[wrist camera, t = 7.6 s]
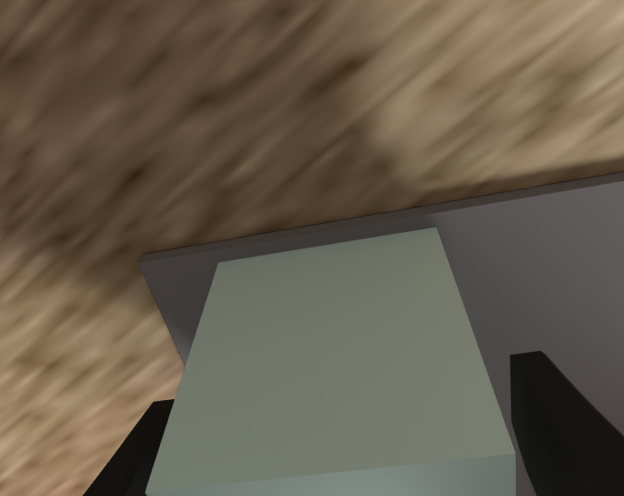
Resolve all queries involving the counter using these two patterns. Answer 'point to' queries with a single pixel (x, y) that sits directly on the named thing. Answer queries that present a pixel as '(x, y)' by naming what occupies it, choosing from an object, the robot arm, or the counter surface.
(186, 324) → the rubber mat
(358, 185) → the counter surface
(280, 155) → the counter surface
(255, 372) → the pale green block
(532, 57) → the counter surface
